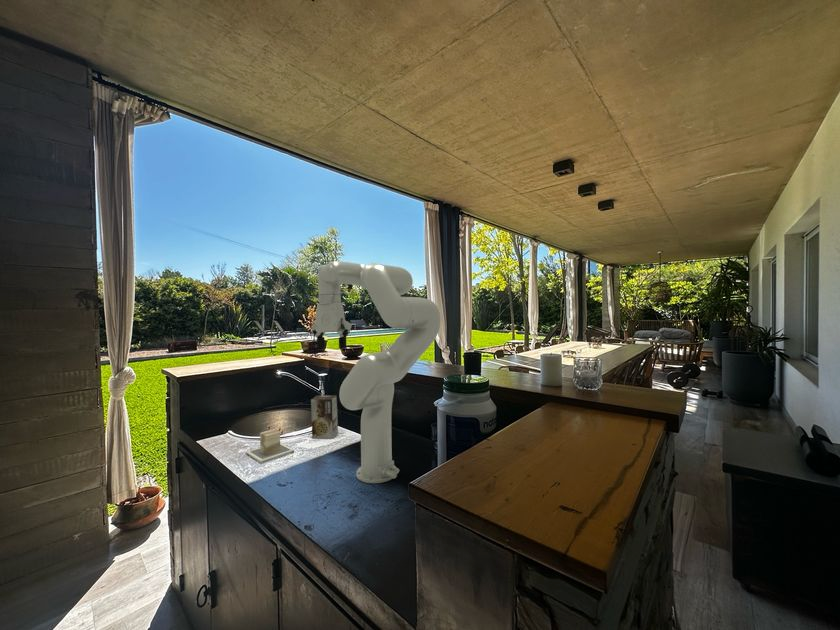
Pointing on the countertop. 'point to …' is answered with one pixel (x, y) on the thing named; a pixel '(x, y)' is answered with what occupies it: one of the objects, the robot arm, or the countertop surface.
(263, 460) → the mat
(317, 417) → the coffee box
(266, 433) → the block
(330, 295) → the robot arm
